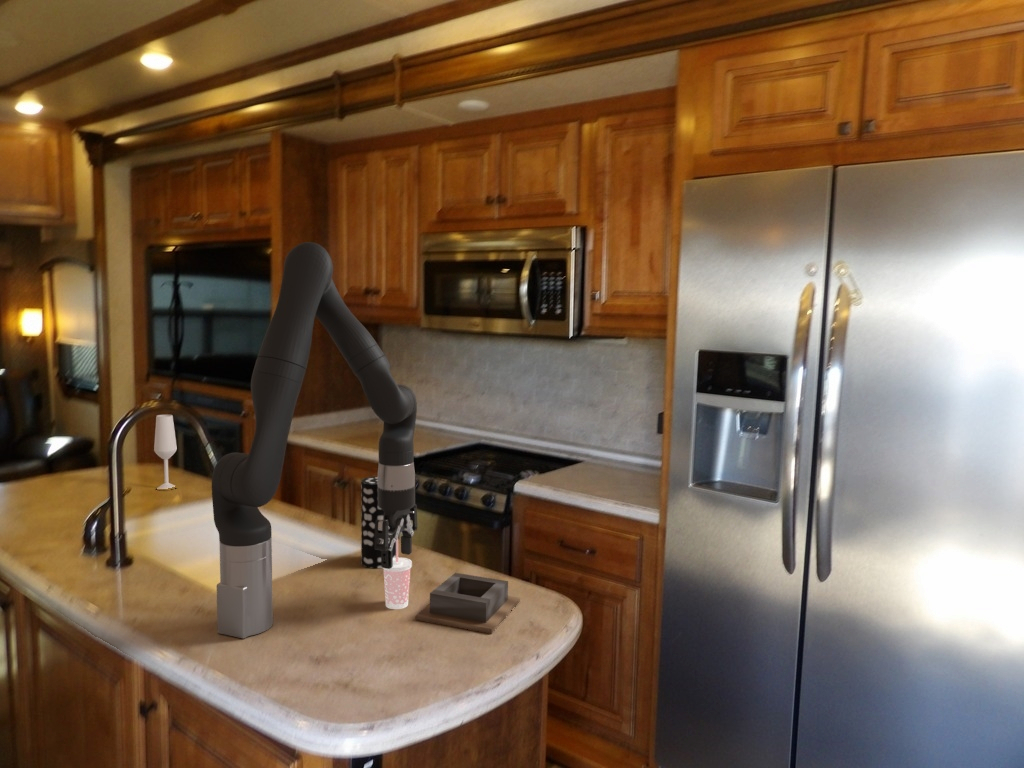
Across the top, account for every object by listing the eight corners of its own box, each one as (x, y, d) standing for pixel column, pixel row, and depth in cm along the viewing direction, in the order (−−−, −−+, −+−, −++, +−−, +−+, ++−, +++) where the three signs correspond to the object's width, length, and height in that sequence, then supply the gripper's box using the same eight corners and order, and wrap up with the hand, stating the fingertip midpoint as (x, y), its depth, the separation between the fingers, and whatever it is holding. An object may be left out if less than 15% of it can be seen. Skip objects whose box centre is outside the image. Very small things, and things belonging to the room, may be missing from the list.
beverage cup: (379, 600, 152) (379, 535, 150) (408, 597, 154) (408, 532, 152) (384, 612, 146) (385, 544, 144) (414, 608, 148) (415, 541, 147)
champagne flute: (155, 491, 233) (153, 417, 230) (154, 487, 239) (152, 414, 236) (178, 489, 236) (176, 416, 234) (177, 485, 242) (175, 413, 239)
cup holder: (491, 634, 137) (492, 608, 137) (415, 619, 143) (416, 595, 142) (520, 602, 152) (520, 579, 152) (450, 590, 158) (450, 568, 157)
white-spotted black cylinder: (362, 569, 169) (362, 485, 167) (360, 557, 177) (360, 477, 175) (398, 567, 171) (398, 483, 169) (394, 555, 179) (394, 475, 177)
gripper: (396, 494, 140) (397, 575, 142) (428, 477, 153) (428, 551, 155) (362, 491, 142) (363, 570, 144) (396, 474, 156) (396, 547, 158)
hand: (396, 560), depth 150 cm, fingers open, 8 cm apart
